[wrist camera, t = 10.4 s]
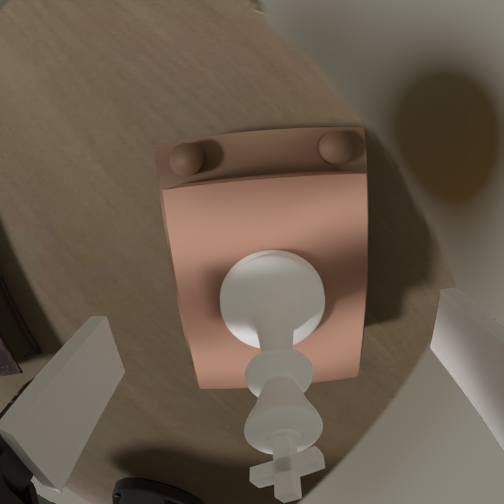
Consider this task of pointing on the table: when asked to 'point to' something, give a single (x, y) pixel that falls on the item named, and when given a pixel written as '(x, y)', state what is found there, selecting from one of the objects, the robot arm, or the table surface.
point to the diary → (13, 335)
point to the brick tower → (267, 236)
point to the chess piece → (277, 362)
